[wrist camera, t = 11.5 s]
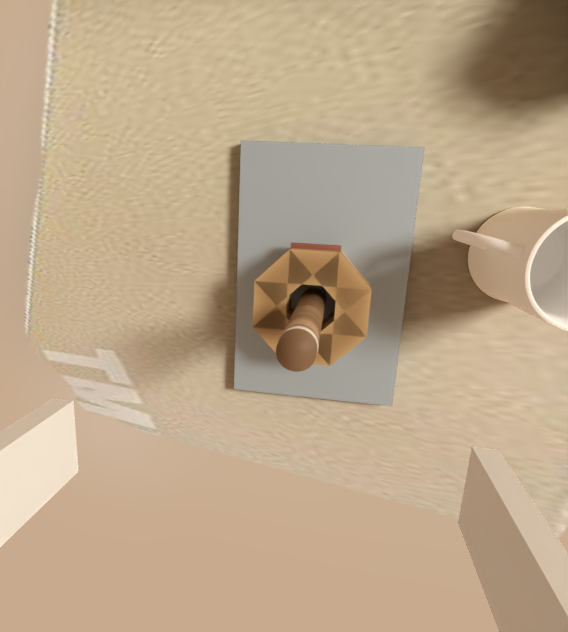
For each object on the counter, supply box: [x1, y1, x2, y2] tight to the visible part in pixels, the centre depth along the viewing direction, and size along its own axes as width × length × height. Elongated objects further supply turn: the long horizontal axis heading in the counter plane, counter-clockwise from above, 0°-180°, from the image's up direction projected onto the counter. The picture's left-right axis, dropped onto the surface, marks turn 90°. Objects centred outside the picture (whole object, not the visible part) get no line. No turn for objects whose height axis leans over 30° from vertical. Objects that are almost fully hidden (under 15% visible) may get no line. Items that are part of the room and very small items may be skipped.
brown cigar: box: [276, 288, 326, 372], centre depth 32 cm, size 2×2×16 cm
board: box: [234, 141, 425, 406], centre depth 40 cm, size 24×16×1 cm, turn 177°
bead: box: [253, 242, 372, 366], centre depth 38 cm, size 11×10×4 cm
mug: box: [452, 206, 568, 331], centre depth 32 cm, size 12×8×12 cm
